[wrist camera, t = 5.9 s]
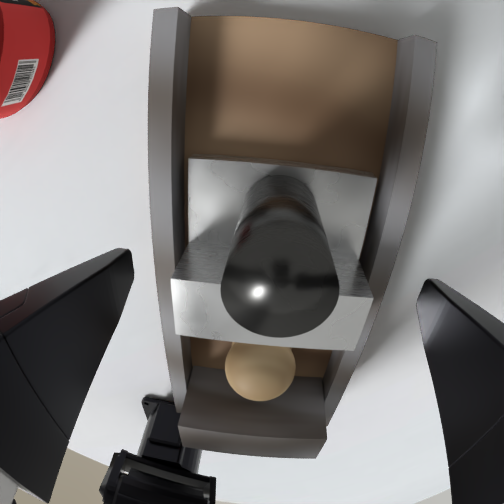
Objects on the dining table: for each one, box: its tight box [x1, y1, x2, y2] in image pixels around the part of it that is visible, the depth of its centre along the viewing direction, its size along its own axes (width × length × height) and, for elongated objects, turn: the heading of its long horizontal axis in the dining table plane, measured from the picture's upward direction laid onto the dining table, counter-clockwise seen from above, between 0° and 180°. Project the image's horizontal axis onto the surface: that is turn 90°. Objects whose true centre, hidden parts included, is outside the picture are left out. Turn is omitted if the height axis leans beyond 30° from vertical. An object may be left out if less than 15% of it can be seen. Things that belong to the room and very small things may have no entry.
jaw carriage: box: [171, 154, 377, 351], centre depth 12 cm, size 7×8×7 cm
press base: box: [148, 7, 437, 458], centre depth 15 cm, size 24×12×7 cm, turn 176°
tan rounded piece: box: [225, 342, 296, 401], centre depth 18 cm, size 4×4×4 cm
